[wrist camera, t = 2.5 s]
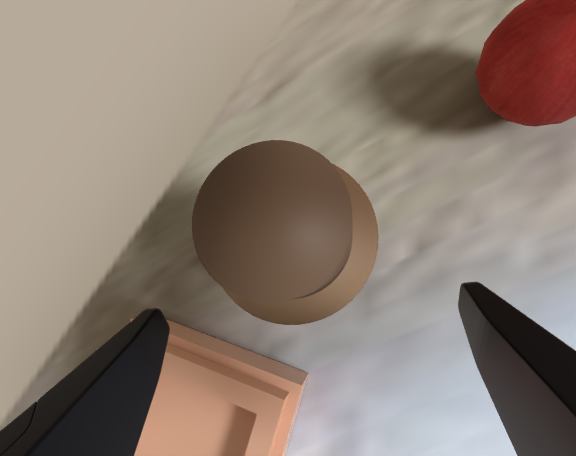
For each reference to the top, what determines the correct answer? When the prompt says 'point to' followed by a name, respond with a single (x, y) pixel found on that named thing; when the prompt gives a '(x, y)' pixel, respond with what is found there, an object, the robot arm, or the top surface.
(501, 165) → the top surface
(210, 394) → the mill holder
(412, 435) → the top surface
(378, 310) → the top surface
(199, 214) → the pepper mill
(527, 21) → the onion
